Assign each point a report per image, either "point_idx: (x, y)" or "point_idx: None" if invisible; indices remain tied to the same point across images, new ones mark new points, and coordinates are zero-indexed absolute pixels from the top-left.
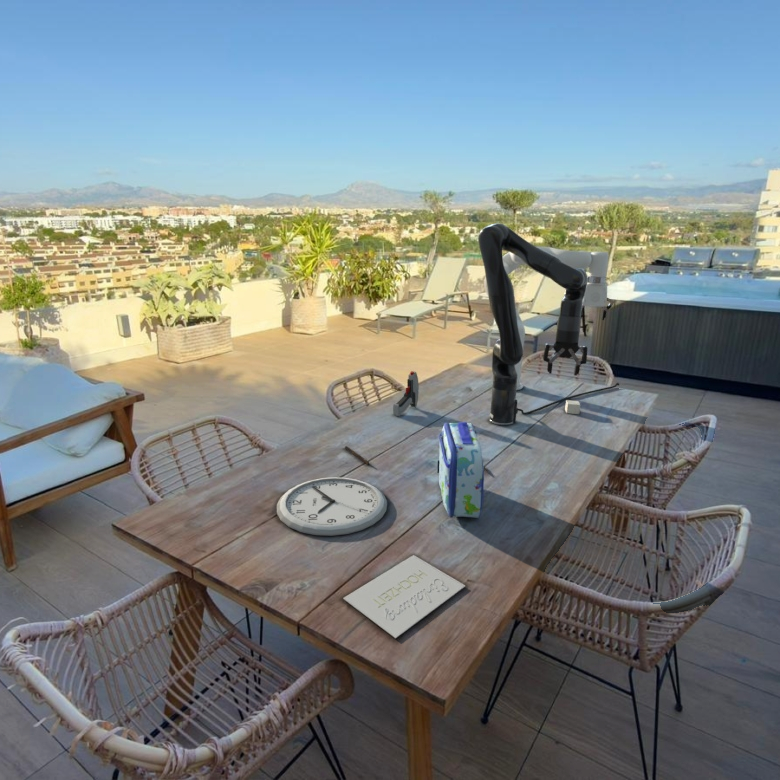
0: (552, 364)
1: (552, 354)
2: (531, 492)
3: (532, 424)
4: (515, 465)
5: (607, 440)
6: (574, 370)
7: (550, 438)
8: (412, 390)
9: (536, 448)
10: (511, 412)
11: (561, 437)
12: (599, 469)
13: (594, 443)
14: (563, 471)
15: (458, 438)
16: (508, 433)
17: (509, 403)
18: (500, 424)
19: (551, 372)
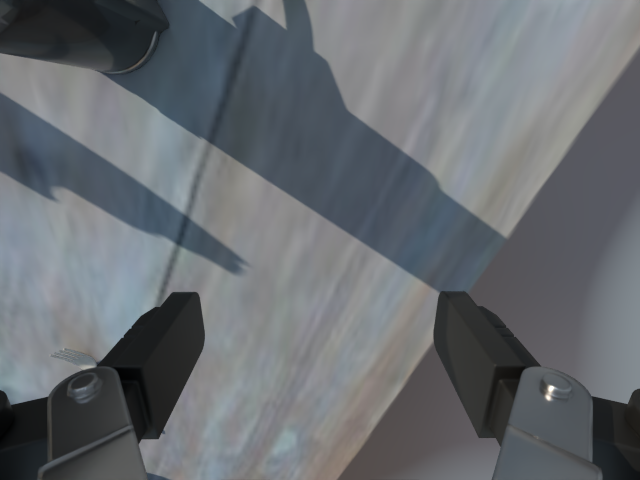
0: (162, 429)
1: (38, 470)
2: (242, 469)
3: (244, 19)
4: (202, 375)
5: (513, 146)
6: (454, 326)
7: (307, 172)
8: None
9: (256, 266)
10: (118, 45)
11: (348, 153)
12: (409, 359)
13: (454, 186)
14: (317, 383)
15: None
16: (156, 155)
17: (71, 49)
18: (109, 73)
19: (199, 354)
